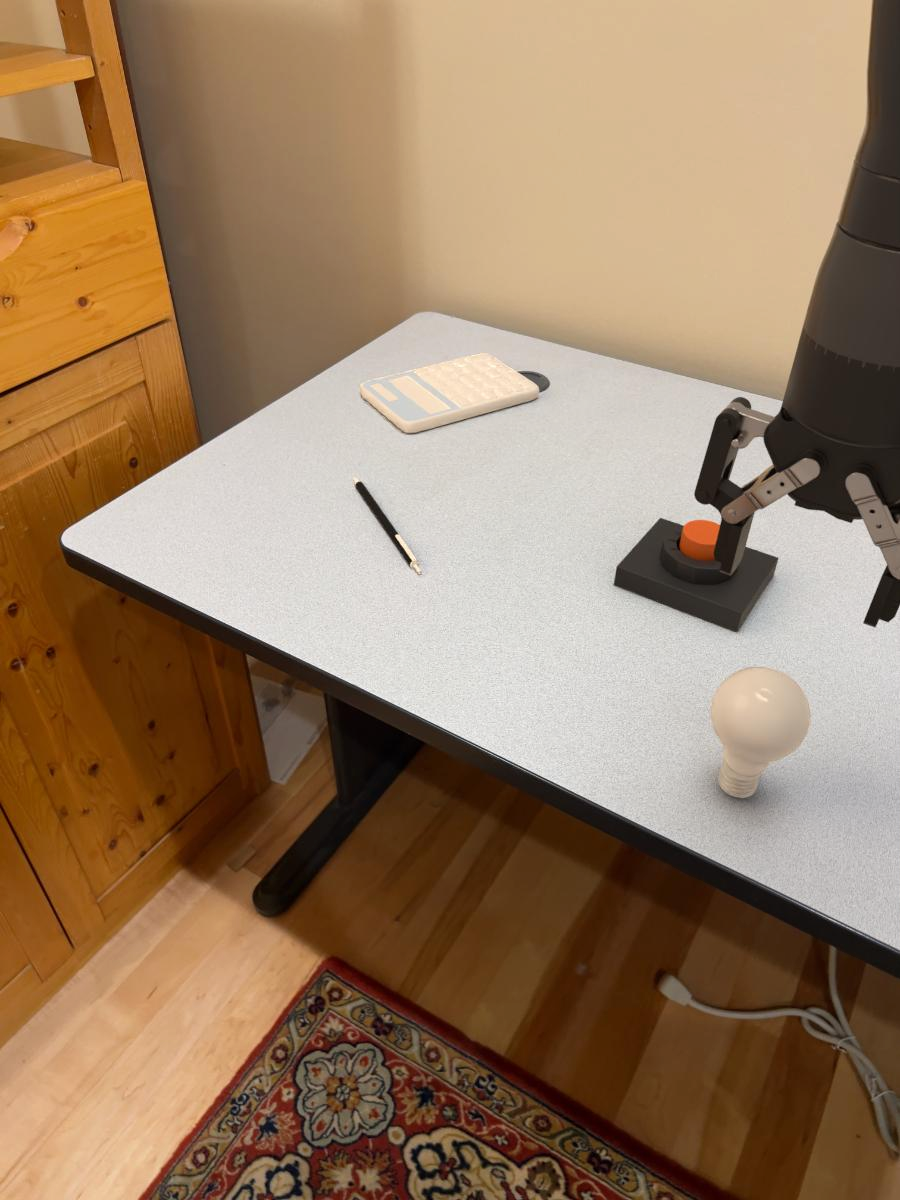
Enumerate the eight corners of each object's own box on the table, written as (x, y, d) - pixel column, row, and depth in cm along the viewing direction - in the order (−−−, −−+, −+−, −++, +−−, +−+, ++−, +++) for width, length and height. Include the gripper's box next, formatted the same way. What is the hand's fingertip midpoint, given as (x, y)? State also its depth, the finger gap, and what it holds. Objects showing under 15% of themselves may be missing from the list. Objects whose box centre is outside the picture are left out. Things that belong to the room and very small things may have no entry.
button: (729, 546, 82) (734, 528, 81) (713, 567, 79) (718, 549, 78) (688, 532, 84) (692, 514, 82) (672, 553, 81) (675, 534, 80)
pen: (416, 577, 84) (415, 568, 83) (350, 481, 98) (349, 473, 97) (424, 575, 84) (424, 566, 84) (358, 480, 98) (357, 471, 97)
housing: (773, 576, 84) (783, 541, 82) (736, 632, 78) (746, 597, 75) (656, 535, 89) (663, 502, 87) (613, 585, 83) (618, 550, 80)
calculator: (542, 399, 113) (543, 385, 112) (406, 437, 105) (405, 422, 104) (485, 361, 122) (486, 348, 121) (356, 394, 114) (355, 380, 113)
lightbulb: (791, 778, 65) (833, 670, 58) (765, 839, 61) (807, 730, 54) (708, 743, 68) (738, 635, 61) (677, 799, 63) (707, 690, 57)
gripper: (716, 320, 43) (662, 582, 53) (1041, 395, 37) (910, 675, 47) (766, 277, 48) (708, 525, 58) (1061, 338, 42) (938, 602, 52)
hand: (799, 592), depth 53 cm, fingers open, 8 cm apart
